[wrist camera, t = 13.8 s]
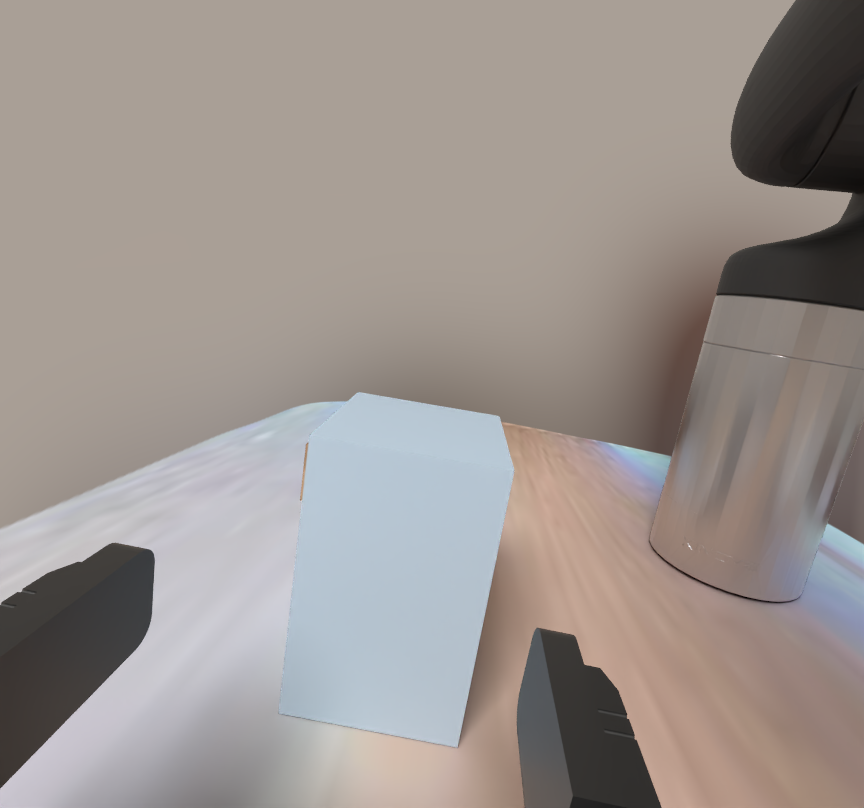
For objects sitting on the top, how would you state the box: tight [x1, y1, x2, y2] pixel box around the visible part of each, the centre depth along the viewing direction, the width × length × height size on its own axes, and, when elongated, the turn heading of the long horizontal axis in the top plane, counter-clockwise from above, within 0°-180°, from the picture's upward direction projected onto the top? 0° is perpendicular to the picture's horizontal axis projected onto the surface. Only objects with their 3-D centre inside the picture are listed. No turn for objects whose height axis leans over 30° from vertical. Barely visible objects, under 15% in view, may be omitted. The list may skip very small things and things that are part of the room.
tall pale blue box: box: [279, 392, 514, 748], centre depth 20 cm, size 7×6×10 cm
